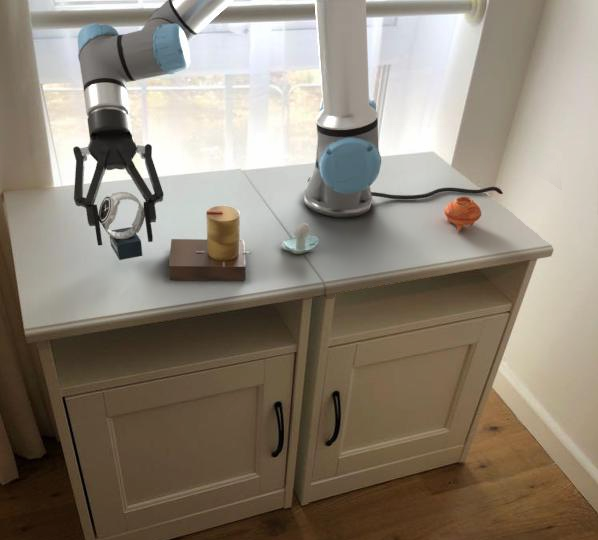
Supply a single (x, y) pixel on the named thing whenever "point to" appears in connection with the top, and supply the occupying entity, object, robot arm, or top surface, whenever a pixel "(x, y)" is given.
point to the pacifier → (300, 241)
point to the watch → (125, 238)
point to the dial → (223, 232)
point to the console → (203, 262)
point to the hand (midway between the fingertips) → (125, 241)
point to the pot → (462, 212)
